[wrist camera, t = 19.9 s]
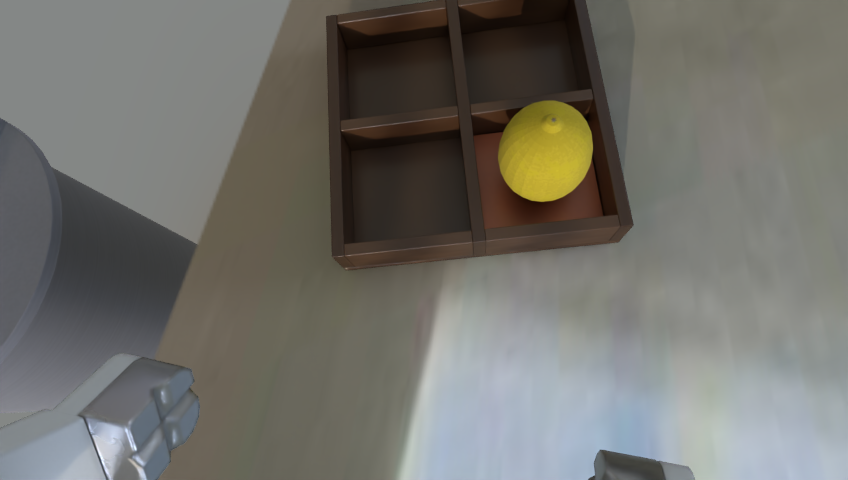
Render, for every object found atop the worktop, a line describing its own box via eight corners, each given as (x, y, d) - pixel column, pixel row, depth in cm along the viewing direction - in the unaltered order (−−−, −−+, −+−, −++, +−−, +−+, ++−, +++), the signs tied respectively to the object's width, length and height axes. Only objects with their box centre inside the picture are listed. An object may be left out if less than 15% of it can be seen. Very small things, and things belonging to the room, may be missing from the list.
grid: (346, 270, 35) (331, 257, 31) (338, 47, 40) (325, 15, 37) (618, 242, 33) (634, 225, 30) (572, 14, 39) (581, -22, 36)
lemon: (547, 234, 33) (566, 186, 26) (480, 187, 35) (480, 130, 27) (595, 172, 34) (628, 108, 27) (528, 129, 36) (540, 57, 28)
